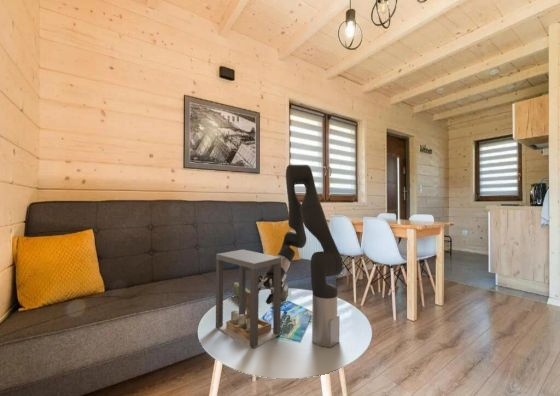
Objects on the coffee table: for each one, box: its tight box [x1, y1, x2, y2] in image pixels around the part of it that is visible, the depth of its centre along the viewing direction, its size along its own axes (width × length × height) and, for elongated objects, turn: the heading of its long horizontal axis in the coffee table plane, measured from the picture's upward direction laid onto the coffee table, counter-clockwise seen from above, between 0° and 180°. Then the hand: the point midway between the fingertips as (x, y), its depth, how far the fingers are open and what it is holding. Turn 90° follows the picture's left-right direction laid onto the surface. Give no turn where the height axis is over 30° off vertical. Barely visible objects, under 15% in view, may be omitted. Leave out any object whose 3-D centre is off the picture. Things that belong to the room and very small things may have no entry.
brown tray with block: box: [225, 291, 272, 340], centre depth 110 cm, size 14×11×14 cm
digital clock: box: [281, 273, 289, 301], centre depth 148 cm, size 16×9×11 cm, turn 159°
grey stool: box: [215, 249, 282, 349], centre depth 110 cm, size 23×14×30 cm, turn 48°
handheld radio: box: [233, 281, 250, 305], centre depth 141 cm, size 7×3×25 cm
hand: (260, 300), depth 115 cm, fingers open, 8 cm apart
